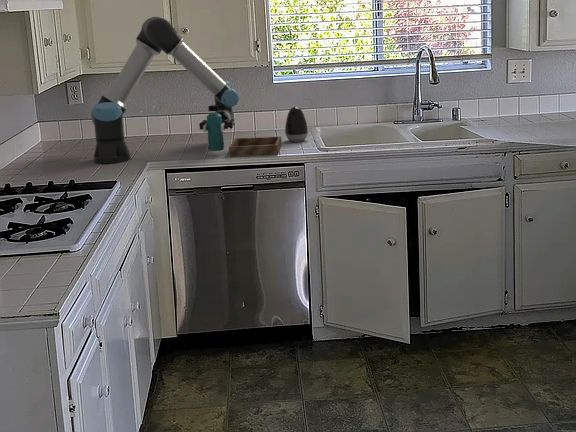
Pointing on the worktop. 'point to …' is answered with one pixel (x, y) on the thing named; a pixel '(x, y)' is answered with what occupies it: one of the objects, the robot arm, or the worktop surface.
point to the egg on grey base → (296, 125)
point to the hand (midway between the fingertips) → (213, 129)
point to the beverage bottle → (215, 130)
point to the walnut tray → (255, 146)
